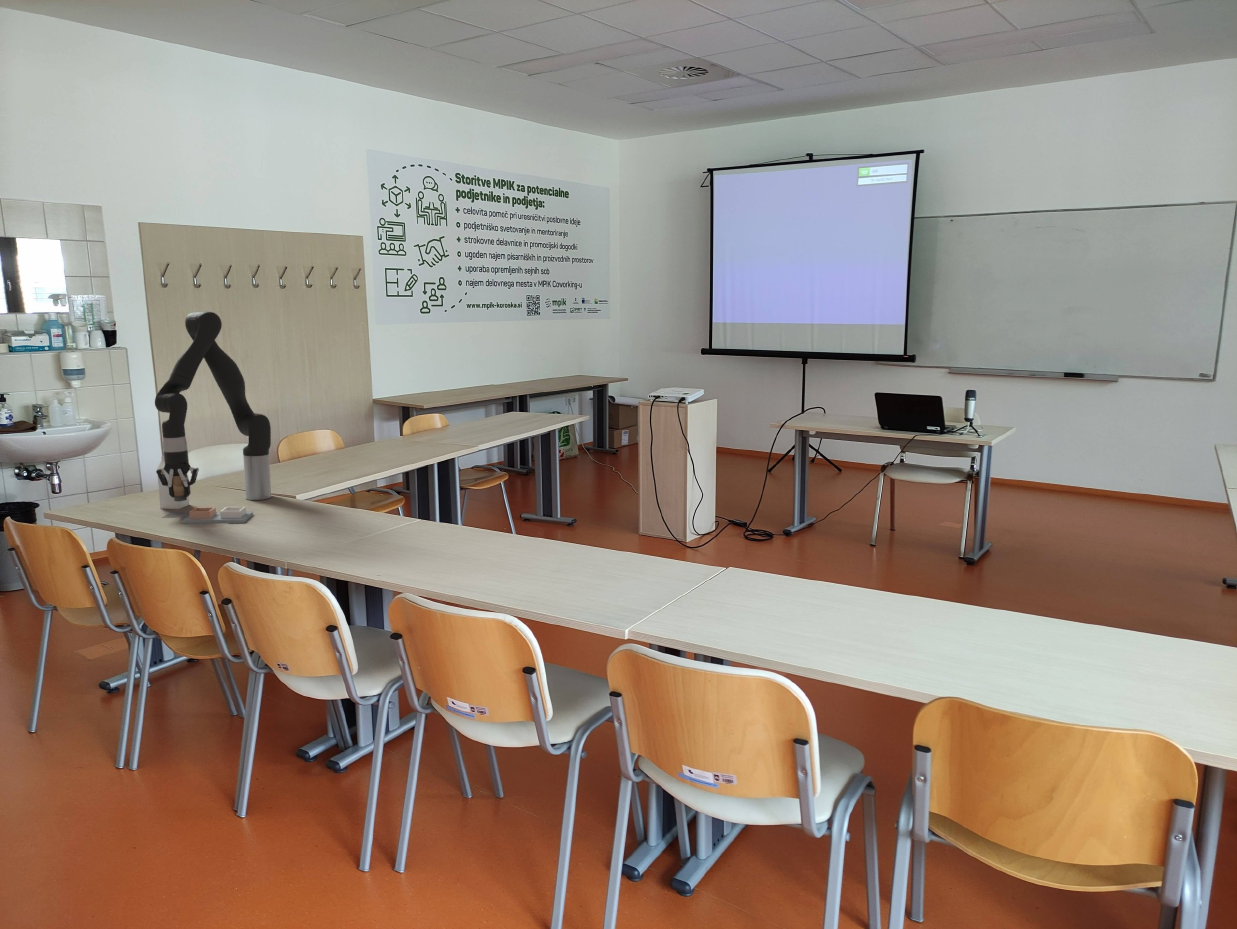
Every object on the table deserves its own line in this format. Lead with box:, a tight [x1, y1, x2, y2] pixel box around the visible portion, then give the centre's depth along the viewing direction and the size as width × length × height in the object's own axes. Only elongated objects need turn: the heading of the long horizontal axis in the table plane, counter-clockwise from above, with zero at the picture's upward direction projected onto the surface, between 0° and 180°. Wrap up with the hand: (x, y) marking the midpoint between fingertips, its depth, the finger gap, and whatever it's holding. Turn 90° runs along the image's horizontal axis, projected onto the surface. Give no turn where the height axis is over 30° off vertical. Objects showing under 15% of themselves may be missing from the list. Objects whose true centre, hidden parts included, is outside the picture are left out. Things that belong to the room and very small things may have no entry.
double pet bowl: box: [181, 506, 254, 524], centre depth 298 cm, size 12×20×4 cm, turn 99°
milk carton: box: [156, 455, 190, 510], centre depth 313 cm, size 7×7×19 cm
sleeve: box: [172, 476, 187, 501], centre depth 301 cm, size 4×4×9 cm
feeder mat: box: [161, 510, 191, 519], centre depth 303 cm, size 9×9×1 cm
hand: (180, 496), depth 302 cm, fingers closed on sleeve, 4 cm apart
